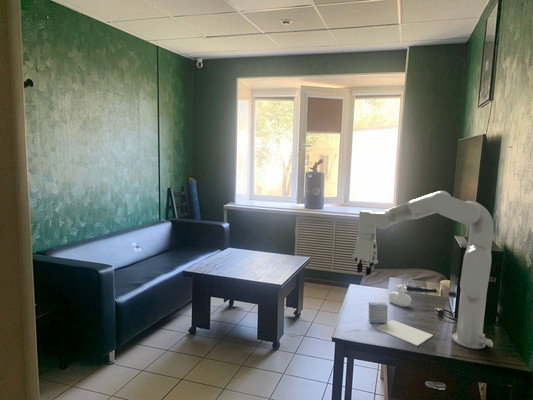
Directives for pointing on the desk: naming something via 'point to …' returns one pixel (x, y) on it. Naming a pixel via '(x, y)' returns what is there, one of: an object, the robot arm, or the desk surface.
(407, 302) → the bust
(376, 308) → the medicine box
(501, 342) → the desk surface
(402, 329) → the mat
